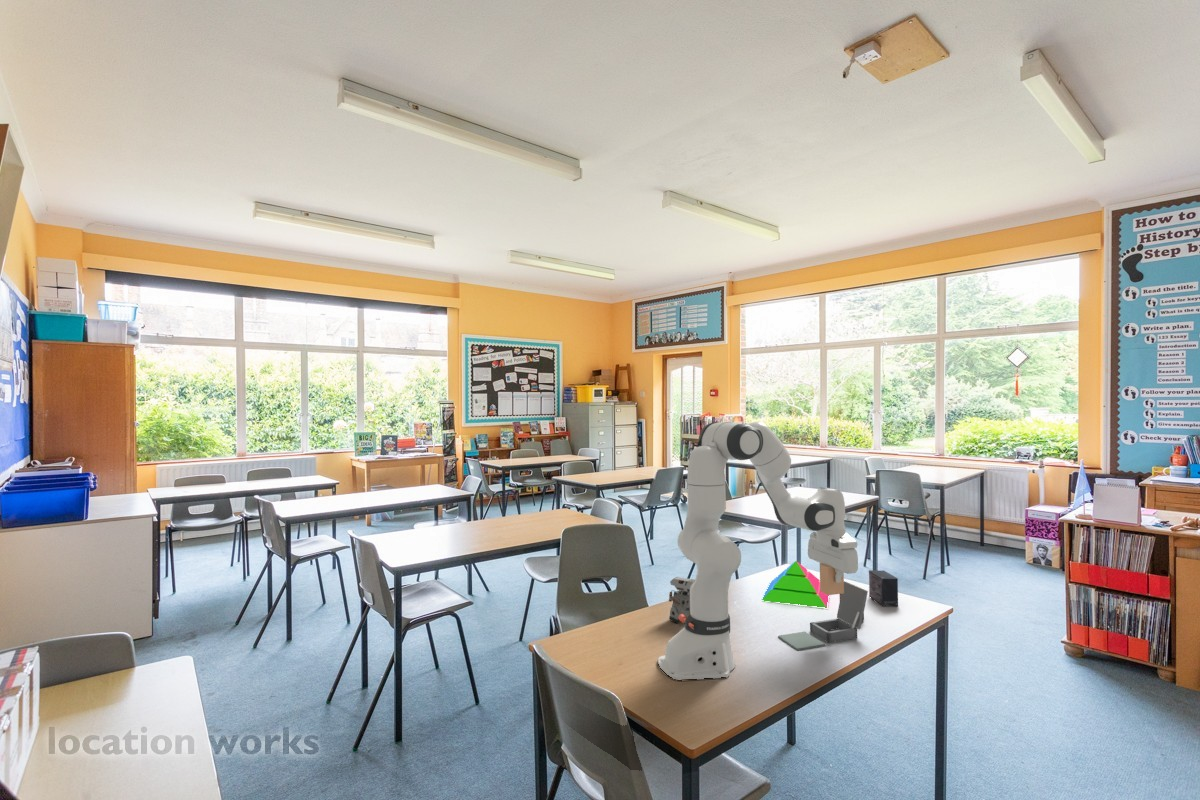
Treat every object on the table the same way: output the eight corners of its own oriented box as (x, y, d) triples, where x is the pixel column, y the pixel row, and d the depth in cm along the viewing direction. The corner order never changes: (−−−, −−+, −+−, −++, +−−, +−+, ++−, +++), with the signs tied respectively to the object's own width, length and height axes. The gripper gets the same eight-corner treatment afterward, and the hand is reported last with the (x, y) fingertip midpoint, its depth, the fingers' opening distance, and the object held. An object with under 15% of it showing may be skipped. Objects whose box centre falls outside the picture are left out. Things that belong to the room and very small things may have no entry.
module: (828, 595, 178) (827, 567, 178) (820, 591, 182) (819, 563, 182) (844, 593, 179) (843, 565, 180) (835, 589, 183) (835, 562, 183)
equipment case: (829, 643, 174) (828, 595, 174) (809, 631, 184) (808, 585, 184) (869, 636, 178) (867, 590, 178) (847, 625, 188) (846, 580, 188)
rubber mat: (797, 650, 170) (797, 648, 170) (778, 637, 179) (778, 635, 179) (824, 645, 172) (824, 643, 172) (804, 633, 182) (804, 631, 182)
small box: (899, 606, 204) (899, 578, 204) (882, 606, 204) (881, 578, 204) (885, 596, 214) (884, 569, 215) (868, 597, 215) (867, 569, 215)
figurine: (688, 629, 187) (687, 585, 187) (666, 619, 197) (665, 576, 197) (708, 623, 192) (707, 580, 192) (685, 613, 202) (685, 572, 202)
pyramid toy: (768, 583, 235) (768, 549, 235) (832, 590, 224) (831, 555, 225) (759, 603, 212) (758, 565, 213) (829, 612, 202) (828, 572, 202)
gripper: (802, 531, 190) (803, 571, 190) (844, 545, 170) (845, 590, 170) (818, 529, 192) (819, 569, 191) (861, 543, 172) (862, 588, 172)
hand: (831, 579), depth 181 cm, fingers closed on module, 4 cm apart
